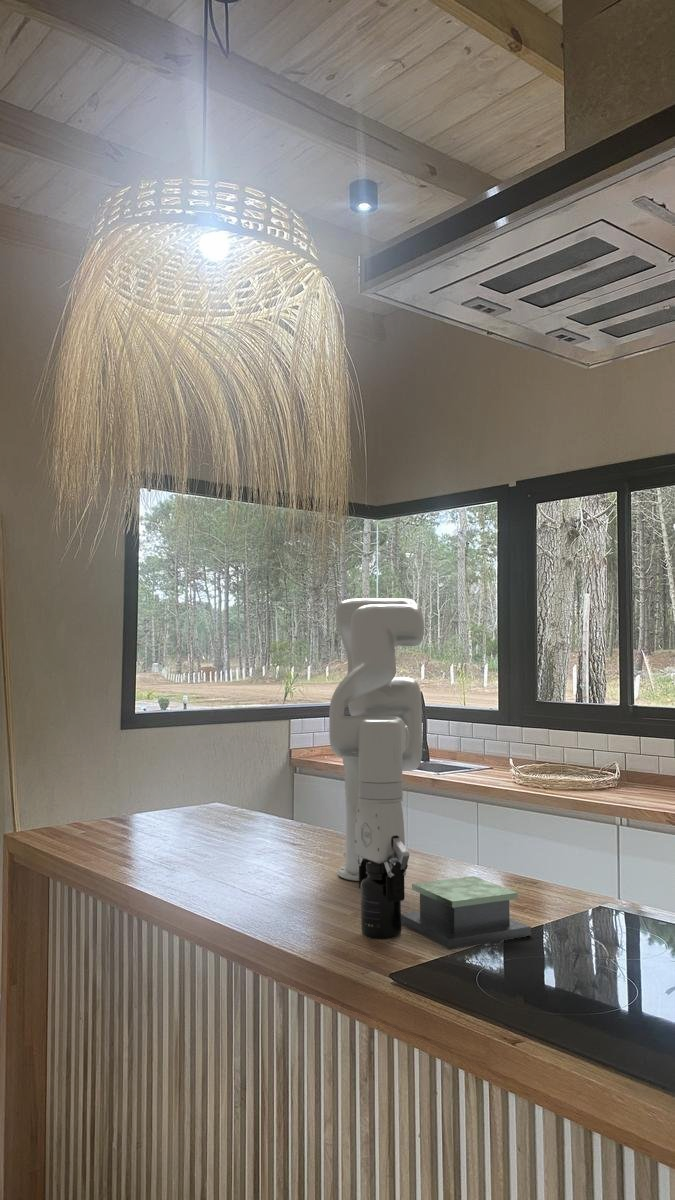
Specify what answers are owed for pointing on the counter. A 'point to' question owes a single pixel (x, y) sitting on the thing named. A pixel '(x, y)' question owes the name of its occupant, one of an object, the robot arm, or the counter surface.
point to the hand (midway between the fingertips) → (381, 894)
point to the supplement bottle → (378, 905)
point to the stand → (464, 912)
